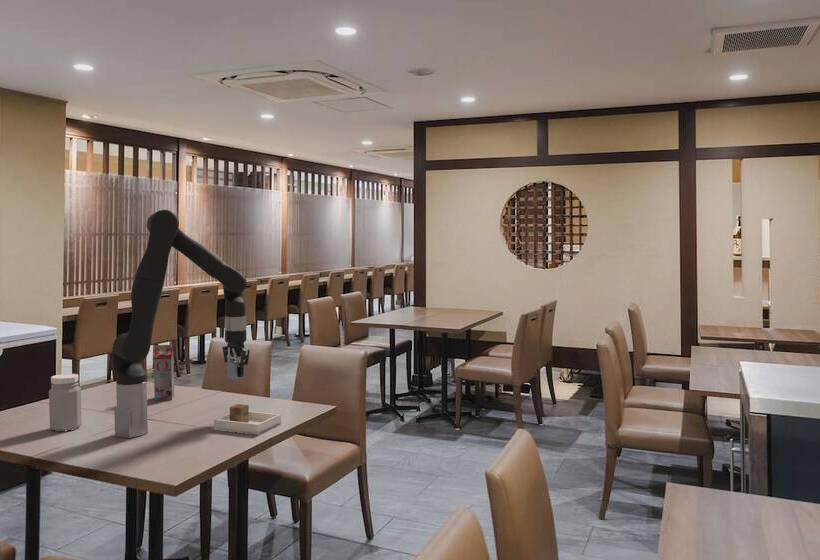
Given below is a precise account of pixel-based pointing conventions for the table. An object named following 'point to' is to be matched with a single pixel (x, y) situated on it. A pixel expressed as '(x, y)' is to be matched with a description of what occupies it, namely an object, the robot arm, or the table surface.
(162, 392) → the printed cardboard box
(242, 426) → the tray
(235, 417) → the walnut block
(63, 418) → the jar
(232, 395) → the table surface
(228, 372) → the slate block
